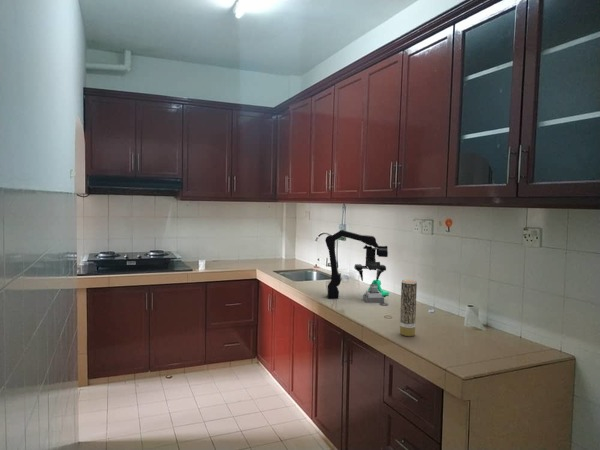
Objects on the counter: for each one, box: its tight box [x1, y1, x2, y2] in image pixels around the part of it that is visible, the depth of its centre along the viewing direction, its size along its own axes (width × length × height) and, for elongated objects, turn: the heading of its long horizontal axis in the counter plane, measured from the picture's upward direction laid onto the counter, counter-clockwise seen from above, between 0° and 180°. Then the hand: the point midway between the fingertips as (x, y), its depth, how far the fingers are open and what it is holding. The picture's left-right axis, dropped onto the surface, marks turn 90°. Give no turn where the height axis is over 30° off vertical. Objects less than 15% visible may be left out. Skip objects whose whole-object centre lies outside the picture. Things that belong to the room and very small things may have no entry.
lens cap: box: [379, 302, 389, 307], centre depth 240 cm, size 5×5×1 cm
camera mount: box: [367, 279, 390, 297], centre depth 265 cm, size 12×8×10 cm, turn 36°
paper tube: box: [399, 279, 418, 337], centre depth 187 cm, size 7×7×25 cm
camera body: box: [362, 290, 385, 304], centre depth 248 cm, size 11×8×6 cm
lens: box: [369, 283, 378, 293], centre depth 248 cm, size 5×5×7 cm
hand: (369, 281), depth 251 cm, fingers open, 9 cm apart
